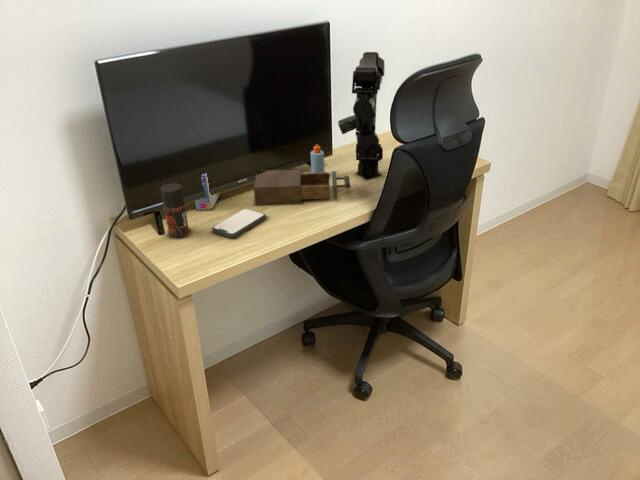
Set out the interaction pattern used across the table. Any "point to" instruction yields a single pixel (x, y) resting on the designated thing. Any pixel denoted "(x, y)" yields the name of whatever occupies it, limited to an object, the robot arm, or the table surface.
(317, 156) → the glue bottle
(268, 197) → the cabinet
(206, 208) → the ink cartridge box
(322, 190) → the drawer
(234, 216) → the phone case
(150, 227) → the table surface
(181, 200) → the deodorant
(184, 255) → the table surface
